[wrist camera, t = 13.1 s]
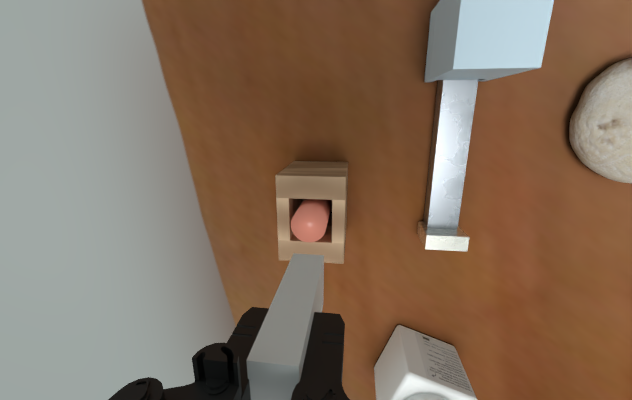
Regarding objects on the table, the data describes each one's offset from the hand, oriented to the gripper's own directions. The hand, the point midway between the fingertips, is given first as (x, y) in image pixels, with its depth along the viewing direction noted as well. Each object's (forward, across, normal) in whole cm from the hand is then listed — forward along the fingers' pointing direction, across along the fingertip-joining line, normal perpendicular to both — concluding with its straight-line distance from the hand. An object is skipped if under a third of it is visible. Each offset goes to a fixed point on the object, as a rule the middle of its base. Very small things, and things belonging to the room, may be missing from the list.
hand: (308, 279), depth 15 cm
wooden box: (+20, -2, -1) cm, 20 cm away
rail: (+20, +11, +7) cm, 24 cm away
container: (+20, +11, -22) cm, 32 cm away
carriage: (+20, +11, +14) cm, 26 cm away
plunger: (+18, -2, -1) cm, 18 cm away
